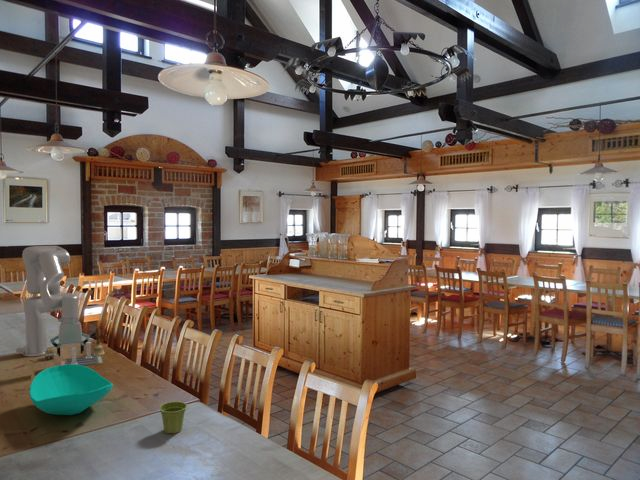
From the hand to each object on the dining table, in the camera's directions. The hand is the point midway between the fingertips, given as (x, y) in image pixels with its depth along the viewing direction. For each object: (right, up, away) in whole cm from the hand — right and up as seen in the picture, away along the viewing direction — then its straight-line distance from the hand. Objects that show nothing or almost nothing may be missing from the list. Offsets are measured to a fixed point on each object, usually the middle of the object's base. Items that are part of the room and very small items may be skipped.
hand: (70, 354), depth 229 cm
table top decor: (+27, -10, -49) cm, 57 cm away
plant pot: (+71, -12, -64) cm, 96 cm away
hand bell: (+3, -7, +22) cm, 23 cm away
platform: (-18, -7, +13) cm, 23 cm away
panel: (+2, -7, +6) cm, 10 cm away
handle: (+3, -5, +11) cm, 13 cm away
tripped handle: (+1, -6, +1) cm, 6 cm away
